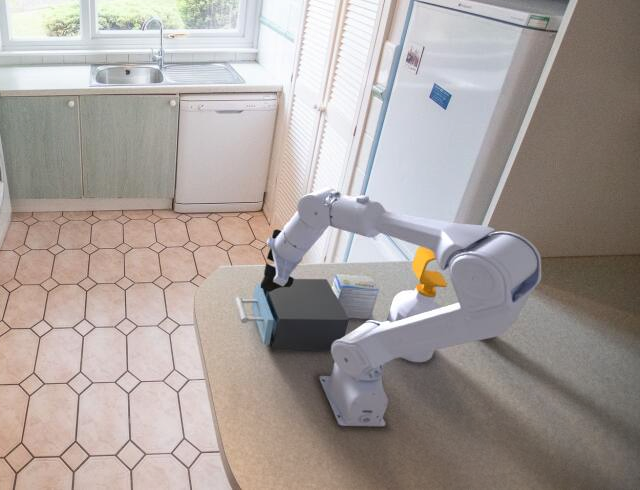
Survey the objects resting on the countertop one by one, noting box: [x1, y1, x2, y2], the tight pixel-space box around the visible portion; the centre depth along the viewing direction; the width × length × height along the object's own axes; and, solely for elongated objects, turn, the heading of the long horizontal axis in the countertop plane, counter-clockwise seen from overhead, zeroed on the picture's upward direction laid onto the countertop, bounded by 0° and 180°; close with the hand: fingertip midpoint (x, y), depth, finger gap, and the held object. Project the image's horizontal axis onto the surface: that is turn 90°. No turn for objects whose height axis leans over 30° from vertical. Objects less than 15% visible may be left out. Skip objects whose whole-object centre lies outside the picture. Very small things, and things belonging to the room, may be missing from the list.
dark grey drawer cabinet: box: [263, 278, 350, 352], centre depth 95 cm, size 14×12×9 cm
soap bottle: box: [386, 246, 448, 363], centre depth 88 cm, size 9×9×25 cm
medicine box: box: [331, 274, 380, 320], centre depth 99 cm, size 8×4×9 cm, turn 84°
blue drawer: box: [234, 283, 278, 346], centre depth 95 cm, size 17×10×7 cm, turn 89°
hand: (268, 273), depth 94 cm, fingers open, 7 cm apart
